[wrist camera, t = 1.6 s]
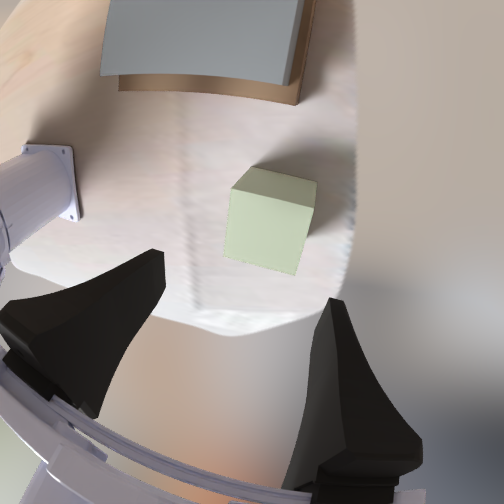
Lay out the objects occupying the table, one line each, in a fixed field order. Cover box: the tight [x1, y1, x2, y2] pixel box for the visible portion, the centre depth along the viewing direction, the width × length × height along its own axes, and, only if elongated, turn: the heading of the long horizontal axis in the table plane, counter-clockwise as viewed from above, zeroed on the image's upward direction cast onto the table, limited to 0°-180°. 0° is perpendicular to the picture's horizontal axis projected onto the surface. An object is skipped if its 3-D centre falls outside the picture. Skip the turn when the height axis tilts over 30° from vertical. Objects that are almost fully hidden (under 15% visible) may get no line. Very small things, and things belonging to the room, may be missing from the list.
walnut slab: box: [119, 0, 316, 106], centre depth 13 cm, size 12×10×2 cm
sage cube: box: [223, 167, 317, 276], centre depth 18 cm, size 4×4×4 cm
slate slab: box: [100, 0, 305, 86], centre depth 11 cm, size 11×8×2 cm
